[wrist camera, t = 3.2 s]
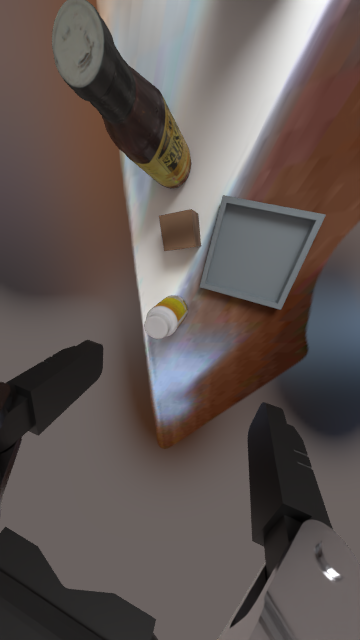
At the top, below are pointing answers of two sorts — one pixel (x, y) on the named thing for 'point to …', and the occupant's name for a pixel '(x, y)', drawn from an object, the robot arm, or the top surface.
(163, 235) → the walnut block
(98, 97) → the sauce bottle
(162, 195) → the top surface
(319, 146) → the top surface
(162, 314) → the supplement bottle
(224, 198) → the tray
